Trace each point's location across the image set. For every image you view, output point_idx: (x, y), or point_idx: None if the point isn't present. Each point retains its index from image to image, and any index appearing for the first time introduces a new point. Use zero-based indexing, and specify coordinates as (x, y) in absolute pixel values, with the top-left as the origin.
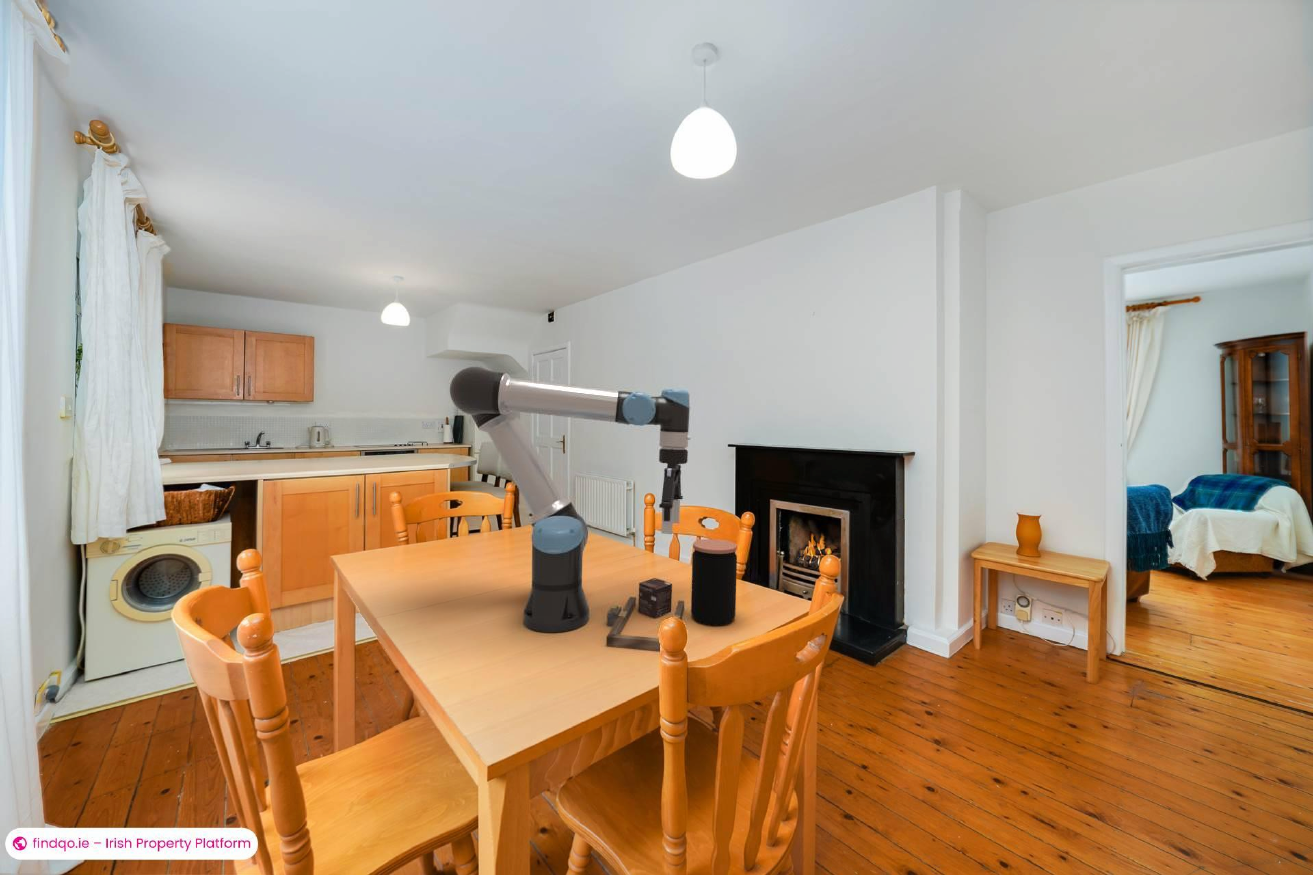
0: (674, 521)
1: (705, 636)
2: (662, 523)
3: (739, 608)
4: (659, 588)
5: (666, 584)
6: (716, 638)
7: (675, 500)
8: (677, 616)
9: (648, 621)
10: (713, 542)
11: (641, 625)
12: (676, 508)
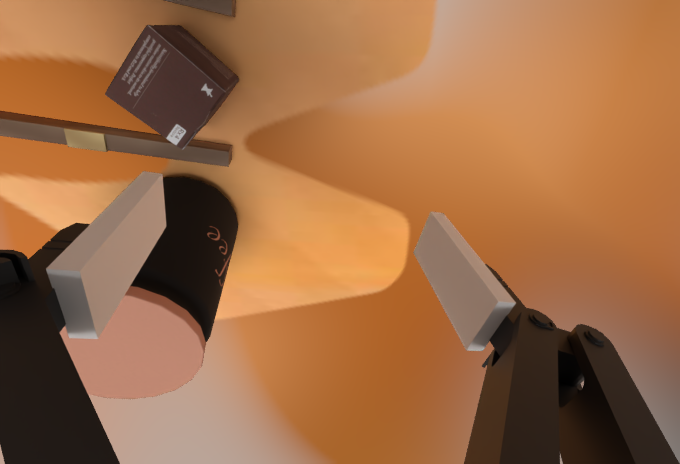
0: (423, 239)
1: (77, 195)
2: (118, 203)
3: (255, 266)
4: (122, 106)
5: (164, 131)
6: (77, 215)
7: (477, 327)
8: (99, 144)
9: (116, 58)
10: (146, 349)
11: (78, 35)
12: (448, 293)
